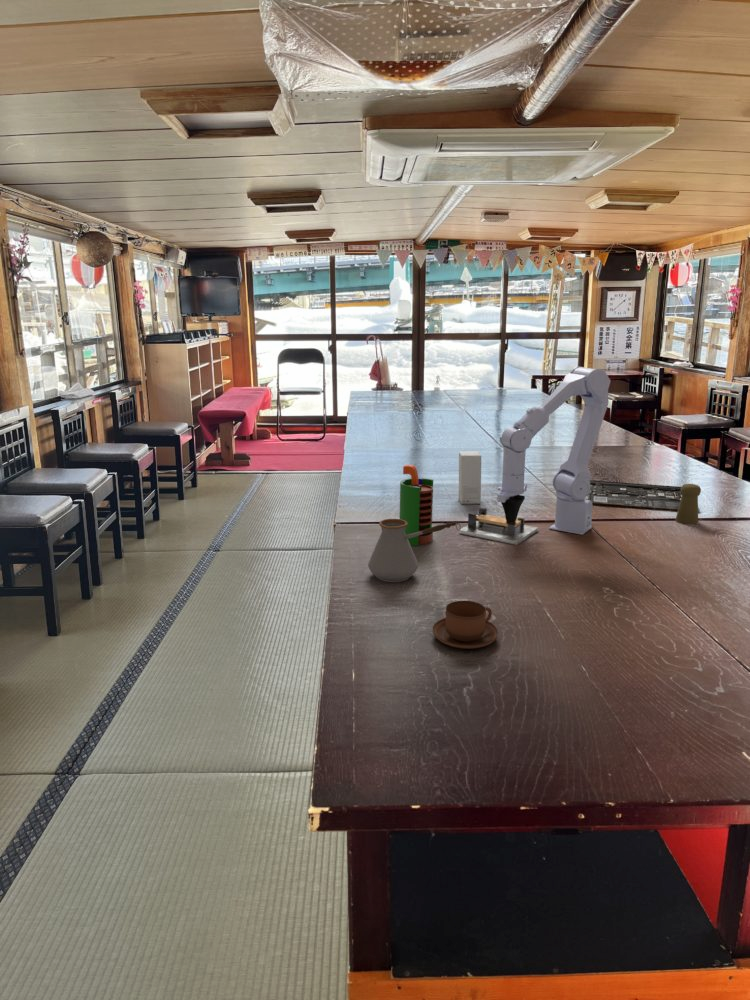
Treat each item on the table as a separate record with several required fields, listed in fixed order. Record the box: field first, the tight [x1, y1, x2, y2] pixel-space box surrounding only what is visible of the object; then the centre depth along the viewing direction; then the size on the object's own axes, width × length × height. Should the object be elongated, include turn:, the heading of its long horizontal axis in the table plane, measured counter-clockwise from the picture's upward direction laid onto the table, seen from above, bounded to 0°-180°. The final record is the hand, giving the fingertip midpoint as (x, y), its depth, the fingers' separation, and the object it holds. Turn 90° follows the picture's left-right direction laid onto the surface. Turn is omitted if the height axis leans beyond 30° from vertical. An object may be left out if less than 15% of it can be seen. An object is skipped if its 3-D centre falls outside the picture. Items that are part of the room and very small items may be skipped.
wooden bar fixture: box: [458, 507, 539, 546], centre depth 186 cm, size 17×14×5 cm
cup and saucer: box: [432, 600, 499, 650], centre depth 126 cm, size 12×12×6 cm
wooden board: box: [476, 513, 521, 527], centre depth 187 cm, size 13×5×1 cm, turn 55°
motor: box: [399, 464, 434, 547], centre depth 179 cm, size 10×9×20 cm
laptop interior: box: [585, 479, 700, 512], centre depth 221 cm, size 35×28×2 cm
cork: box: [674, 483, 702, 525], centre depth 194 cm, size 6×6×11 cm
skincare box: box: [458, 450, 482, 505], centre depth 216 cm, size 8×7×16 cm
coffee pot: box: [367, 518, 462, 583], centre depth 153 cm, size 21×12×15 cm, turn 66°
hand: (510, 522), depth 184 cm, fingers closed, pressing on wooden board
